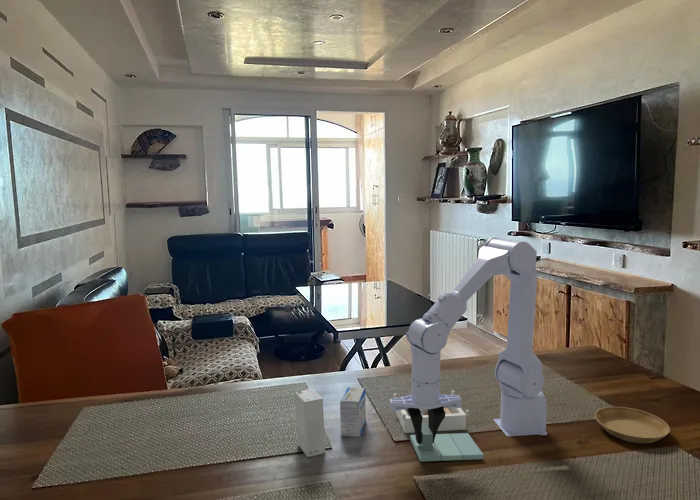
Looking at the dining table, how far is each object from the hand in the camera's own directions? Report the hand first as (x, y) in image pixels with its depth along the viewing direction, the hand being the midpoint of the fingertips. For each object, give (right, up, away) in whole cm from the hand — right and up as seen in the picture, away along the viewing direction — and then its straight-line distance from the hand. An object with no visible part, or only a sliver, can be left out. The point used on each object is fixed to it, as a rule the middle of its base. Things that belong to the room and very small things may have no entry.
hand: (424, 441), depth 104 cm
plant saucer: (+48, -2, +9) cm, 49 cm away
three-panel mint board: (+4, -2, +1) cm, 5 cm away
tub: (+3, -1, +14) cm, 14 cm away
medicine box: (-15, -2, +11) cm, 18 cm away
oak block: (+6, 0, +13) cm, 14 cm away
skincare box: (-24, -3, +3) cm, 24 cm away
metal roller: (+1, 0, +15) cm, 15 cm away
